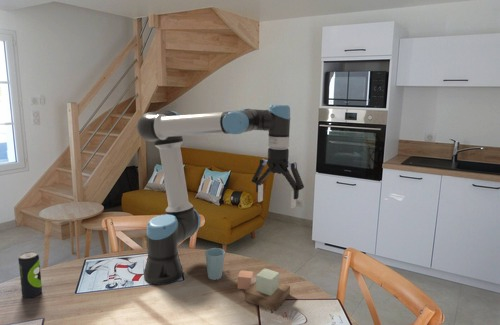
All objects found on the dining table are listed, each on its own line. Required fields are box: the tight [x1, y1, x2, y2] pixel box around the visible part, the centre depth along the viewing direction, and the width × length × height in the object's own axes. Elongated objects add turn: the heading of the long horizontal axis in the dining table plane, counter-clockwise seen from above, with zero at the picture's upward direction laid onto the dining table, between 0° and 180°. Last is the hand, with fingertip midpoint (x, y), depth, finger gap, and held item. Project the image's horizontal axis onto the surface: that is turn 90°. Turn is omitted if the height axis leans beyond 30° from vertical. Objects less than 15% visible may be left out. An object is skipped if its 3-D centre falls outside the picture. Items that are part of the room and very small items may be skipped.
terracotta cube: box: [237, 269, 254, 291], centre depth 142 cm, size 5×5×5 cm
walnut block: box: [244, 281, 291, 312], centre depth 135 cm, size 12×12×4 cm
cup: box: [204, 247, 226, 281], centre depth 148 cm, size 8×8×10 cm
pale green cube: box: [255, 267, 280, 296], centre depth 133 cm, size 6×6×6 cm
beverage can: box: [18, 250, 43, 299], centre depth 132 cm, size 6×6×15 cm
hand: (276, 204), depth 139 cm, fingers open, 13 cm apart
